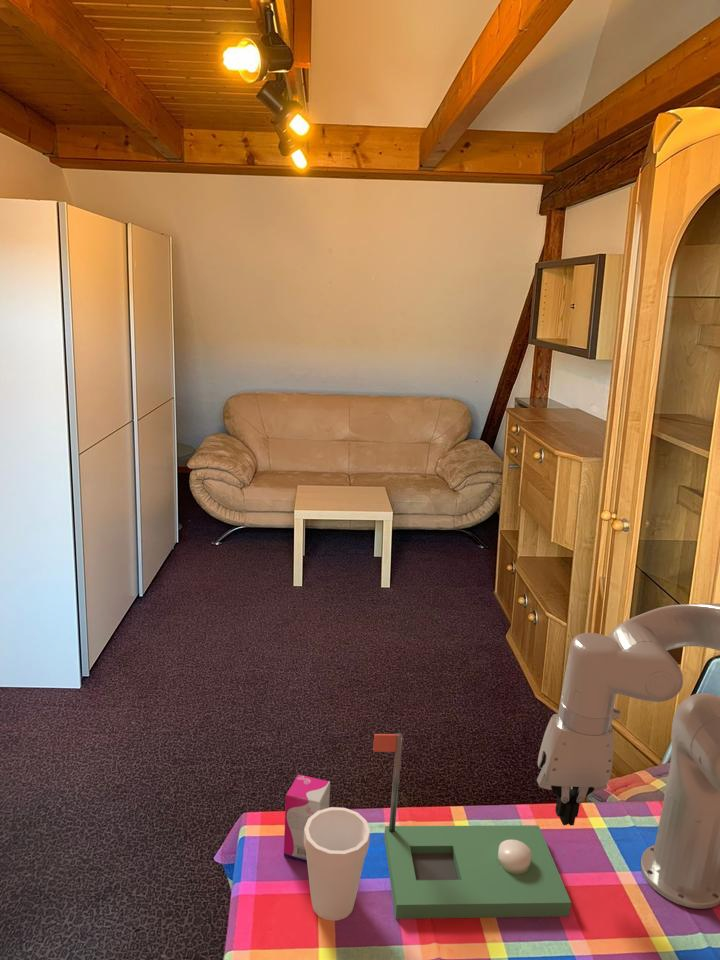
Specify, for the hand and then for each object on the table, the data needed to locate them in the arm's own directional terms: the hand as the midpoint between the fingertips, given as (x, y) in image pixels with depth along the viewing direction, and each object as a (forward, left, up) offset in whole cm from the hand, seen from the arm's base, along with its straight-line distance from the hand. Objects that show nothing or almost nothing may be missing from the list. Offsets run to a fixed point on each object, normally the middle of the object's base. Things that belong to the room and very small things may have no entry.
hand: (565, 818), depth 116 cm
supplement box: (+40, -6, -11) cm, 42 cm away
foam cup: (+36, +5, -11) cm, 38 cm away
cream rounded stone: (+7, 0, -8) cm, 11 cm away
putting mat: (+15, 0, -11) cm, 19 cm away
